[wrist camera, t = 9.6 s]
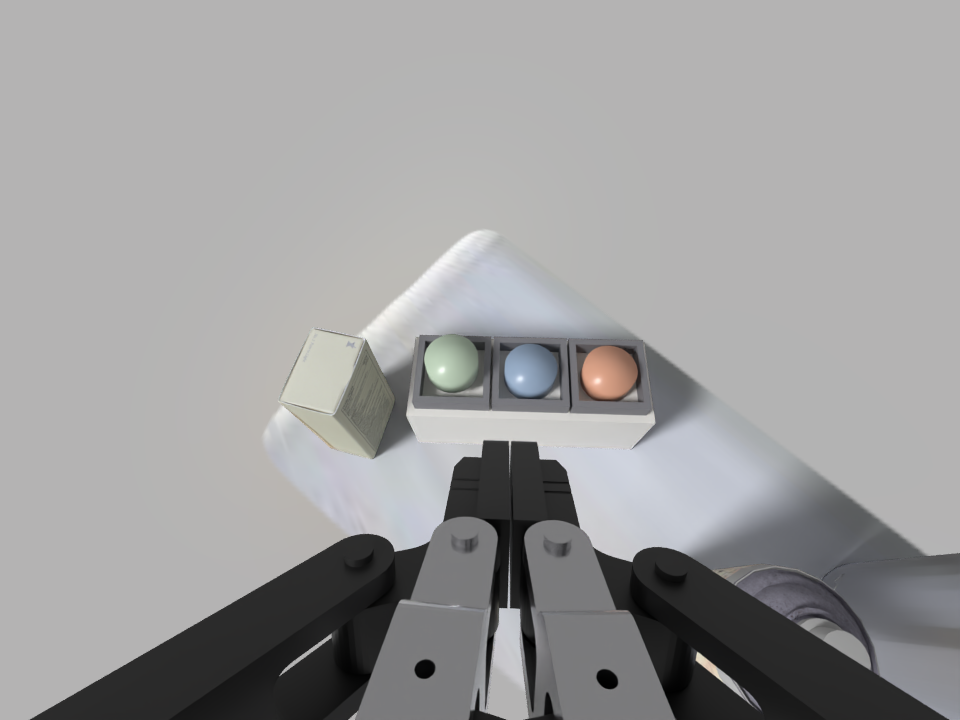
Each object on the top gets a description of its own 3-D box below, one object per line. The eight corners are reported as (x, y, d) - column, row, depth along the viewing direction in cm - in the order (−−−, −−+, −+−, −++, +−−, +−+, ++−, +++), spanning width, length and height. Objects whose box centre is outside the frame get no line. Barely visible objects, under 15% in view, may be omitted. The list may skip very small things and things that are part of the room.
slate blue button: (553, 356, 38) (556, 344, 36) (555, 401, 36) (558, 391, 34) (504, 355, 38) (505, 343, 36) (503, 400, 36) (504, 390, 34)
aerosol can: (628, 681, 34) (783, 777, 16) (614, 577, 37) (729, 559, 19) (724, 679, 34) (986, 773, 16) (701, 575, 37) (899, 555, 19)
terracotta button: (627, 358, 38) (634, 346, 36) (633, 404, 36) (640, 394, 34) (578, 356, 38) (582, 344, 36) (581, 402, 36) (585, 392, 34)
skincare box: (354, 389, 45) (311, 322, 34) (398, 399, 44) (368, 335, 33) (329, 451, 42) (272, 400, 31) (375, 463, 41) (334, 415, 31)
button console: (623, 378, 45) (649, 333, 37) (630, 449, 41) (661, 416, 34) (426, 372, 45) (413, 328, 38) (418, 442, 42) (403, 409, 35)
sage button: (479, 347, 37) (479, 335, 35) (477, 393, 35) (476, 383, 34) (429, 346, 37) (426, 333, 35) (425, 392, 35) (421, 381, 34)
